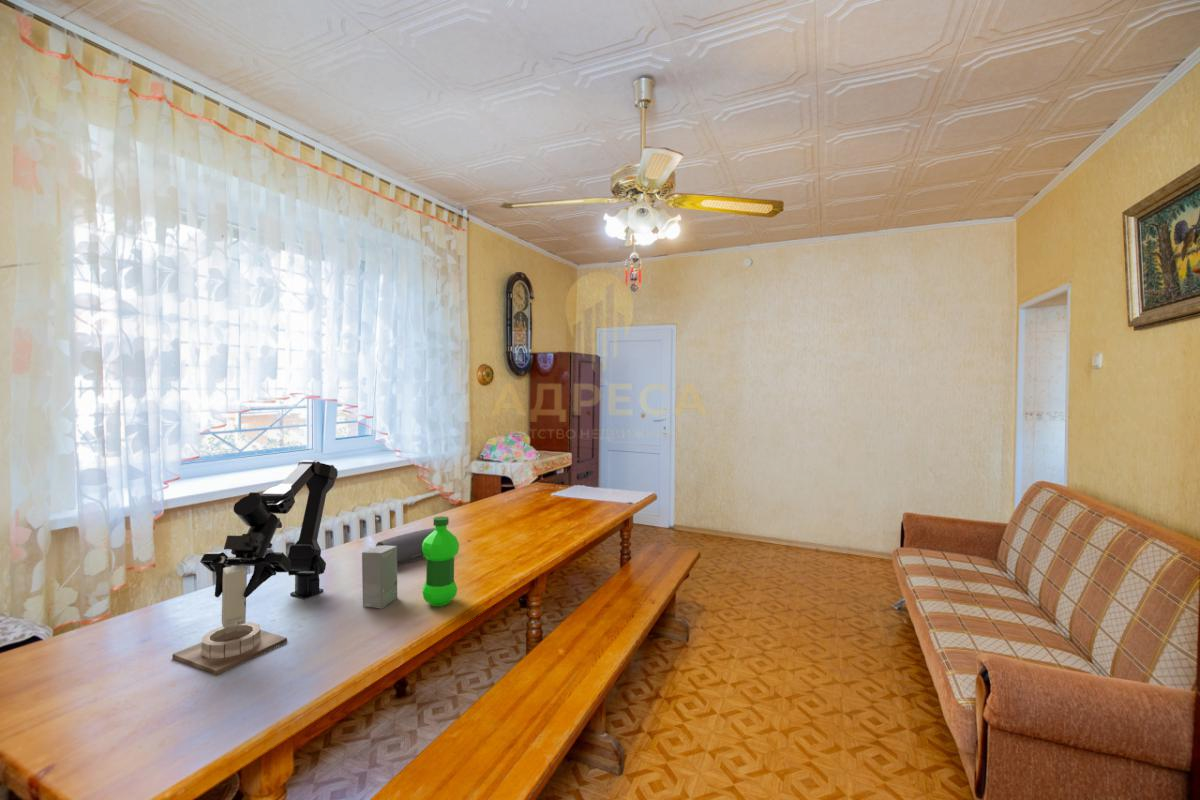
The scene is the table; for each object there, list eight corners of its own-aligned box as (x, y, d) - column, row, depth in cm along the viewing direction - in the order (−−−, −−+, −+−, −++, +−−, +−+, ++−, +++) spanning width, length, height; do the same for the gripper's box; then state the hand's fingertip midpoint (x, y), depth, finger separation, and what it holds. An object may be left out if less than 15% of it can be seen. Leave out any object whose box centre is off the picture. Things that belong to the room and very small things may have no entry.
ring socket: (172, 658, 117) (172, 641, 116) (244, 628, 131) (244, 613, 131) (216, 675, 110) (216, 657, 110) (286, 642, 125) (287, 625, 125)
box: (245, 624, 120) (248, 570, 120) (222, 629, 117) (225, 574, 117) (242, 615, 124) (245, 563, 124) (220, 620, 121) (222, 567, 121)
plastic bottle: (438, 613, 142) (439, 524, 142) (413, 604, 148) (414, 518, 147) (465, 601, 151) (466, 517, 150) (440, 593, 156) (442, 512, 156)
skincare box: (382, 609, 144) (382, 553, 144) (359, 606, 146) (360, 551, 145) (399, 597, 153) (399, 545, 152) (377, 595, 154) (378, 543, 153)
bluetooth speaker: (428, 550, 197) (429, 524, 196) (444, 555, 191) (444, 528, 191) (373, 566, 178) (373, 537, 178) (388, 572, 173) (388, 543, 172)
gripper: (205, 519, 123) (169, 582, 113) (284, 520, 124) (256, 582, 114) (227, 541, 132) (196, 601, 121) (301, 541, 133) (277, 602, 122)
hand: (230, 596), depth 119 cm, fingers closed on box, 6 cm apart
